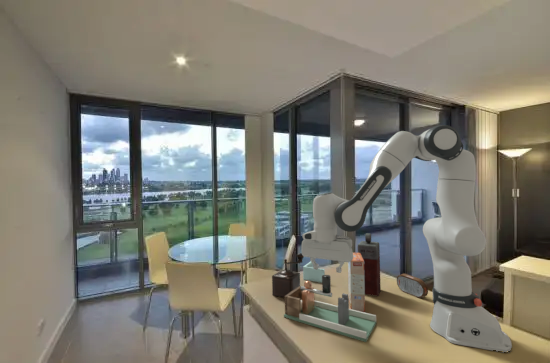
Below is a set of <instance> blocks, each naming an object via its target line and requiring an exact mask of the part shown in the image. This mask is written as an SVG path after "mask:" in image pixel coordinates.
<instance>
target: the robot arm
mask: <svg viewBox="0 0 550 363" xmlns="http://www.w3.org/2000/svg"><path fill="white" fill-rule="evenodd" d="M413 159H418V160H421V161H424V162H431V161H435V162H436V164H437V166H438V176H437V186H436V194H435V201H436V204H437V205H438V207H439V212H440V217H433V218H429V219H427V220H426V221H425V222H424V224H423V227H422V233H423V236H424V237H425V240H426V243H427V245H428V248H429V253H430V256H431V262H432V268H433V269H432V270H433V287H432V302H433V311H432V316H431V320H430V324H429V326H430V328H431V330H433V331H434V332H435V333H436V334H438V335H440V336H441V337H443V338H445V339H446V340H447V341H448V342H449V343H451V344H453V345H454V344H455V345H459V346H465V347H471V348H476V349H483V350H488V351H493V350H496V351H495V352H498V351H503V352H502V353H504V352H507V351H510V350H511V348H512V349H513V345H512V344H513V343H512V340H511V338H510V337H509V335H508V334H507V333H505V331H503V330H502V326H501V324H500V322H499V320H498V319H497V317H496V316H495V315H493V314H492V313H490V312H489V311H488V310H487V309H485V308H484V307H482V306H483V303H482V300H481V299H480V297H479V296H478V294H477V293H474V292H472V271H471V269H470V265H468V263H467V261H466V258H465V257H475V256H478V255H480V254H481V253H482V252H483V251H484V250H485V248H486V246H487V238H486V235H485V233H484V231H482V229H481V228H480V226H479V224H478V219H477V216H476V212H475V211H476V210H475V193H476V192H475V189H476V181H477V180H476V179H477V166H476V159H475V155H474V153H472V152H471V151H470V150H467V149H464V144H463V142H462V139H461V135H460V133H459V132H458V130H457V129H456V128H454V127H453V126H451V125H446V124H441V125H435V126H433V127H431V128H429V129H427V130H425V131H423V132H422V133H420V134H419V135H415V134H413V133H412V132H409V131H407V130H406V131H404V130H401V131H400V130H399V131H398V132H397V131H396V133H395V134H394V135H392V136H391V137H390V138H389V139H388V140H387V141H386V142H385V143H383V145H382V146H381V147H380V149H379V150H378V151H377V153H376V154H375V155H374V157H373V158H372V160H371V162H370V164H369V172H368V175H367V178H366V180H365V181H364V183H363V184H362V185H361V187H360V188H359V189H358V190H357V192H356V193H355V194H354V195H353V197H352V198H351V199H345V198H344V197H343V198H342V197H340V196H338V195H336V194H334V193H333V192H324V193H320V194H317V195H316V196H315V197H314V198H313V202H312V216H313V221H314V222H313V223H314V224H313V230H309V231H307V232H305V233H302V239H303V240H302V241H301V249H300V250H301V252H300V253H302V255H303V256H304V257H305V258H309V259H310V260H309V261H311V262H312V264H313V269H318V268H319V263H317V261H316V260H318V259H320V260H328V261H335V262H338V264H339V266H336V268H335V270H336V271H335V273H337V274H338V273H339V274H340V273H342V270H343V269H342V267H343V266H344V264H345V263H348V262H350V261H351V260H352V259H353V253H354V252H353V240H352V238H350V237H349V236H347V235H338V228H339V229H341V231H345V232H352V233H353V232H355V231H358V230H360V229H362V227H363V226H364V223H365V221H366V218H367V213H368V211H369V209H370V208H371V206H372V205H373V203H374V202H375V201H376V199H377V198H378V197H379V195H380V194H381V193H382V191H383V190H384V189H385V188H386V187H388V185H389V184H390V183H391V182H392V181H393V180H394V179H396V178H397V177H398V176H399V175H400V174H401V173H402V172H403V170H405V168H406V167H407V166H408V164H409V163H410V162H411V161H412V160H413ZM337 227H338V228H337ZM464 256H465V257H464ZM319 269H320V268H319ZM511 351H512V350H511ZM511 351H510V352H511Z"/></svg>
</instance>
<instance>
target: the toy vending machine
mask: <svg viewBox="0 0 550 363" xmlns="http://www.w3.org/2000/svg"><path fill="white" fill-rule="evenodd" d="M357 253H361V256H362V258H363V260H364V281H365V295H367V296H374V297H379V296H380V292H381V287H382V285H381V261H380V259H381V258H380V256H381V254H380V253H381V251H380V242H378V241H372V234H371V233H368V232H367V233H365V239H364V240H361V241H360V242H358V244H357Z"/></svg>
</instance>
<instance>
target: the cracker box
mask: <svg viewBox="0 0 550 363" xmlns="http://www.w3.org/2000/svg"><path fill="white" fill-rule="evenodd" d="M347 270H348V272H347V273H348V274H347V275H348V278H347V279H348V298H349V308H350V309H352V310H356V311H360V312H365V313H366V308H365V307H366V298H365V296H366V294H365V281H364V260H363V258H362V256H361V253H358V252H353V259H352V260H351V261H350V262H347Z"/></svg>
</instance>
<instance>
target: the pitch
mask: <svg viewBox="0 0 550 363" xmlns="http://www.w3.org/2000/svg"><path fill="white" fill-rule="evenodd" d="M283 317H284V318H285V317H286V319H288V318H289V320H291V319H292V320H291V321H296V322H298V323H302V324H305V325H309V326H312V327H315V328H318V329H322V330H324V331H329V332H331V333H335V334H339V335H341V336H345V337H348V338H352V339H355V340H358V341H361V342H364V343H367V342H368V339H369V338H370V336H371V333H372V332H373V330H374V328H375V326H376V325H377V315H376V314H374V313H373V314H372V313H370V312H369V313H368V312H366V311H365V312H362V311H356V310H352V309H351V308H350V302H349V293H348V294H347V293H344V292H343V293H342V294H341V297H340V296H339V297H338V298H337V305H335V304H331V303H327V302H323V301H320V300H319V301H318V300H314V310H312V311H311V312H310V313H309V314H308V315H307V314H304V313H302V311H301V313H300V314H299V318H297V317H294V316H291V315H287V314H285V313H284V314H283Z"/></svg>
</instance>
